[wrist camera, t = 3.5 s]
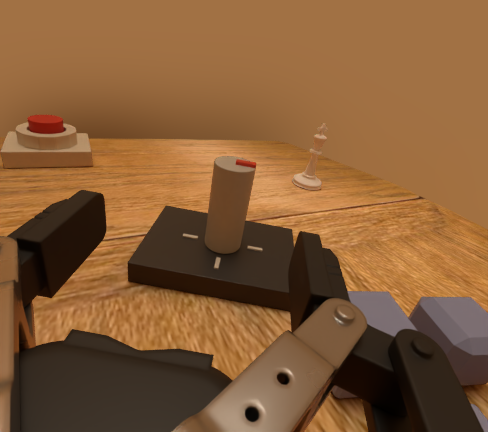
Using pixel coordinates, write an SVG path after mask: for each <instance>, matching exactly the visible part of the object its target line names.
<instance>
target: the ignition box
mask: <svg viewBox="0 0 488 432" xmlns="http://www.w3.org/2000/svg"><path fill="white" fill-rule="evenodd" d="M63 125H64V132H62V133H56V134H39V133H33V132H30V129H29V124H28V123H24V124H21V125H18V126H17V127H16V132H8V134H7V137H6V139H5V142H4V144H3V147H2V149H1V152H0V153H1V157H2V161H3V165H4V168H37V167H83V166H93V165H92V154H91V148H90V144H89V139H88V135H87V134H79V133H76V128H75V127H73V126H71V125H69V124H64V123H63Z"/></svg>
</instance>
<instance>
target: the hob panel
mask: <svg viewBox="0 0 488 432" xmlns="http://www.w3.org/2000/svg"><path fill="white" fill-rule="evenodd" d="M207 218H208V213H203V212H197V211H192V210H187V209H181V208H176V207H171V206H165V208H164V209H163V211H162V212H161V214H160V215H159V217H158V218H157V220H156V221H155V223H154V224H153V226H152V227H151V229H150V230H149V232H148V233H147V235H146V236H145V238H144V239H143V241H142V242H141V244H140V245H139V247H138V248H137V250H136V251H135V253H134V254H133V256H132V257H131V258H130V260H129V261H128V281H131V282H136V283H142V284H147V285H152V286H158V287H163V288H169V289H174V290H179V291H185V292H190V293H195V294H201V295H206V296H212V297H217V298H222V299H228V300H233V301H239V302H244V303H249V304H255V305H260V306H265V307H271V308H276V309H282V310H287V311H290V299H289V283H288V270H289V264H290V260H291V257H292V254H293V250H294V243H293V234H292V229H288V228H282V227H277V226H272V225H266V224H261V223H256V222H250V221H245V225H244V230H243V235H242V240H241V245H240V248H239V249H238V250H237V251H236V252H233V253H230V254H221V253H217V252H214V251H212V250H210V249H209V248H208V247H207V246H206V244H205V234H206V226H207Z"/></svg>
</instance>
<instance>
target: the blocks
mask: <svg viewBox="0 0 488 432" xmlns="http://www.w3.org/2000/svg"><path fill="white" fill-rule="evenodd" d="M348 295H349V298H350V301H351V303H352V304H354V305H355V306H357V307H358V308H359V309H360V310H361V311H362V312H363V314H364V315H365V317H366V320H367V324H369V325H370V326H372V327H374V328H376V329H378V330H380V331H383V332H385V333H387V334H390V335H392V336H394V337H395V336H396V334H397V333H398V331H400V330H402V329H413V330H416V331H419V332H421V333H423V334H425V335H427V336H428V337H430V338H431V339H433V340H434V341H435V342H436V343H437V344H438V345H439V346H440V347H441V348H442V349H443V351H444V352H445V354H446V356H447V358H448V360H449V362H450V364H451V366H452V368H453V370H454V372H455V374H456V376H457V378H458V380H459V382H460V384H461V386H462V385H476V384H486V383H487V382H488V313H487V312H486V311H485V310H484V309H483V308H481V307H480V306H479V305H478V304H477V303H476V302H475V301H474V300H473V299H472V298H471V297H421V299H420V300H419V302H418V303H417V305H416V306H415V308H414V310H413V311H412V313H411V314H410V316H409V317H407V316H406V315H405V313H404V312H403V311H402V309H401V308H400V307H399V305H398V304H397V303H396V302H395V300H394V299H393V298H392V296H391V295H390V294H389V292H362V291H348ZM332 392H333V395H334V396H336V397H337V398H351V397H357V396H355V395H353V394H351V393H349V392H347V391H345V390H343V389H341V388H340V387H338V386H336V385H335V386H334V388H333V389H332ZM471 406H472V408H473V410H474V412H475V414H476V416H477V418H478V420H479V422H480V424H481V426H482V428H483V430H484V432H488V420H487V419H486V418H485V416H484V415H483V414H482V412H481V411H480V410H479V408H478V407H477V406H475V405H474V404H471Z"/></svg>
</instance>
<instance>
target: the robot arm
mask: <svg viewBox="0 0 488 432" xmlns="http://www.w3.org/2000/svg"><path fill="white" fill-rule="evenodd" d="M105 233H106V215H105V201H104V196H103V194H101V193H97V192H91V191H86V190H80V191H79V192H77V193H76V194H75V195H73V196H72V197H71V198H69V199H65V200H62V201H60V202H57V203H54V204H52V205H50V206H49V207H48V208H46V209H45V210H43V212H42V213H39V214H38V215H36V216H35V218H32V219H31V220H29V221H28V222H26V223H25V224H24V225H22V226H21V227H19V228H18V229H17V230H15V231H14V232H12V233H11V234H10V235H8V236H7V237H5V236H0V432H304V431H305V430H306V428H307V426H308V425H309V423H310V422H311V420H312V419H313V417H314V416H315V415H316V413H317V412H318V410H319V409H320V407H321V406H322V404H323V403H324V401H325V400H326V398H327V397H328V395H329V394H330V392H331V391H332V389H333V388H334V386H335V385H336V386H338V387H340V388H341V389H343V390H345V391H347V392H349V393H351V394H353V395H355V396H357V397H359V398H361V399H362V401H363V406H364V411H365V416H366V421H367V426H368V432H484V430H483V428H482V426H481V424H480V422H479V420H478V418H477V416H476V414H475V412H474V410H473V408H472V406H471V404H470V402H469V400H468V398H467V396H466V394H465V392H464V390H463V388H462V386H461V384H460V382H459V380H458V378H457V376H456V374H455V372H454V370H453V368H452V366H451V364H450V362H449V360H448V358H447V356H446V354H445V352H444V351H443V349H442V348H441V347H440V346H439V345H438V344H437V343H436V342H435V341H434V340H433V339H431V338H430V337H428V336H427V335H425V334H423V333H421V332H419V331H416V330H413V329H402V330H400V331H398V333H397V334H396V336H395V337H394V336H392V335H390V334H387V333H385V332H383V331H380V330H378V329H376V328H374V327H372V326H370V325H369V324H367V320H366V317H365V315H364V314H363V312H362V311H361V310H360V309H359V308H358V307H357V306H355V305H354V304H352V303H351V301H350V298H349V295H348V291H347V288H346V285H345V282H344V278H343V277H342V272H341V269H340V265H339V262H338V258H337V257H336V256H335V255H334V253H333V252H332V251H331V250H330V249H327V248H322V244H321V240H320V236H319V235H318V234H313V233H307V232H302V231H300V232H299V235H298V237H297V241H296V244H295V247H294V250H293V254H292V257H291V260H290V264H289V270H288V283H289V299H290V314H291V330H292V332H291V331H289V330H287V331H285V332H284V333H283V334H282V335H281V336H279V337H278V338H277V339H276V340H275V341H274V342H273V343H272V344H271V345H270V346H269V347H268V348H267V349H266V350H265V351H264V352H263V353H262V354H261V355H260V356H259V357H257V358H256V359H255V360H254V361H253V362H252V363H251V364H250V365H249V366H248V367H247V368H246V369H245V370H244V371H243V372H242V373H241V374H240V375H239V376H238V377H237V378H235V379H234V380H231V379H230V378H229V377H228V376H227V375H225V374H224V373H222V372H221V371H219V370H218V369H216V368H213V367H211V365H212V360H213V355H209V354H204V353H199V352H193V351H188V350H182V349H165V350H145V351H141V350H137V349H134V348H132V347H130V346H128V345H126V344H124V343H122V342H119V341H117V340H115V339H113V338H111V337H109V336H106V335H101V334H95V333H90V332H85V331H79V330H74V329H72V330H71V332H70V333H69V335H68V336H67V337H66V339H65V340H64V341H56V342H50V343H46V344H42V345H38V346H36V342H35V326H34V311H33V304H32V300H33V299H34V298H35V297H36V296H37V295H38V296H43V297H49V298H52V297H53V296H54V295H55V294H56V292H57V291H58V290H59V289H60V288H61V287H62V286H63V285H64V283H65V282H66V281H67V280H68V279H69V278H70V277H71V275H72V274H73V273H74V272H75V271H76V270H77V269H78V268H79V266H80V265H81V264H82V263H83V262H84V261H85V260H86V259H87V257H88V256H89V255H90V254H91V253H92V252H93V251H94V249H95V248H96V247H97V246H98V245H99V244H100V243H101V242H102V240H103V238H104V236H105Z"/></svg>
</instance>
